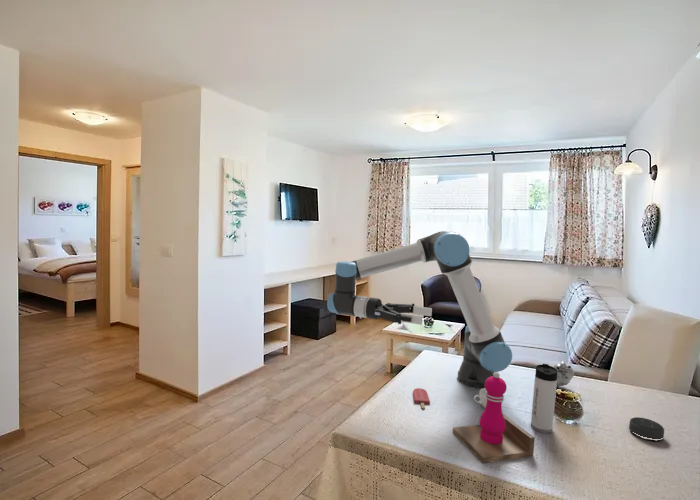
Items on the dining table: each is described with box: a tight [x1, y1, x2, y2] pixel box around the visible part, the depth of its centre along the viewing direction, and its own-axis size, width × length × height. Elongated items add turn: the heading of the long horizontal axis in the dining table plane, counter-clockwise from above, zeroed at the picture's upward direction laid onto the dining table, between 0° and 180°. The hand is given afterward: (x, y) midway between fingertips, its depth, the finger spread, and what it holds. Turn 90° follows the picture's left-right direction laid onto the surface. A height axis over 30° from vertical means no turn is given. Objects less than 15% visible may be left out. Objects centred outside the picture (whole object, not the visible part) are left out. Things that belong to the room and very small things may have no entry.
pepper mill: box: [479, 372, 507, 444], centre depth 118 cm, size 7×7×20 cm
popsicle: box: [412, 387, 431, 410], centre depth 146 cm, size 5×2×15 cm
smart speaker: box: [628, 416, 665, 439], centre depth 129 cm, size 9×9×4 cm
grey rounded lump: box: [553, 361, 575, 387], centre depth 163 cm, size 10×10×12 cm
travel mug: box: [530, 363, 558, 434], centre depth 129 cm, size 6×7×20 cm
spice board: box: [452, 412, 536, 464], centre depth 119 cm, size 16×16×6 cm
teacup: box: [473, 388, 487, 409], centre depth 142 cm, size 10×8×5 cm
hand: (427, 316), depth 137 cm, fingers open, 13 cm apart
